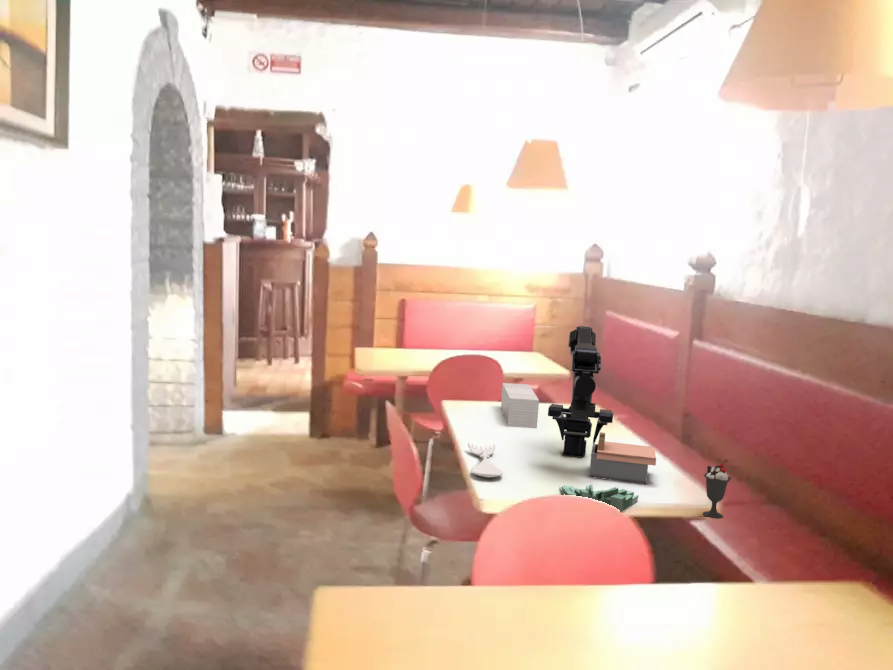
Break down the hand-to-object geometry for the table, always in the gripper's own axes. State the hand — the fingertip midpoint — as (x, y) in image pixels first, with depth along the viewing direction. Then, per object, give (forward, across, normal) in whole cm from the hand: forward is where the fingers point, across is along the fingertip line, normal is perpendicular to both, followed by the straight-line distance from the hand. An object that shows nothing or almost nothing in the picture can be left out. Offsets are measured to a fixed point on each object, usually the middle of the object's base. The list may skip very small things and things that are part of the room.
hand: (578, 441), depth 231 cm
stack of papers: (+9, -26, +64) cm, 69 cm away
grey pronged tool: (+9, -26, -8) cm, 29 cm away
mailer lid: (+3, +14, 0) cm, 14 cm away
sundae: (+9, +36, -27) cm, 46 cm away
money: (+9, +9, -27) cm, 30 cm away
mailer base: (+8, +12, 0) cm, 15 cm away
